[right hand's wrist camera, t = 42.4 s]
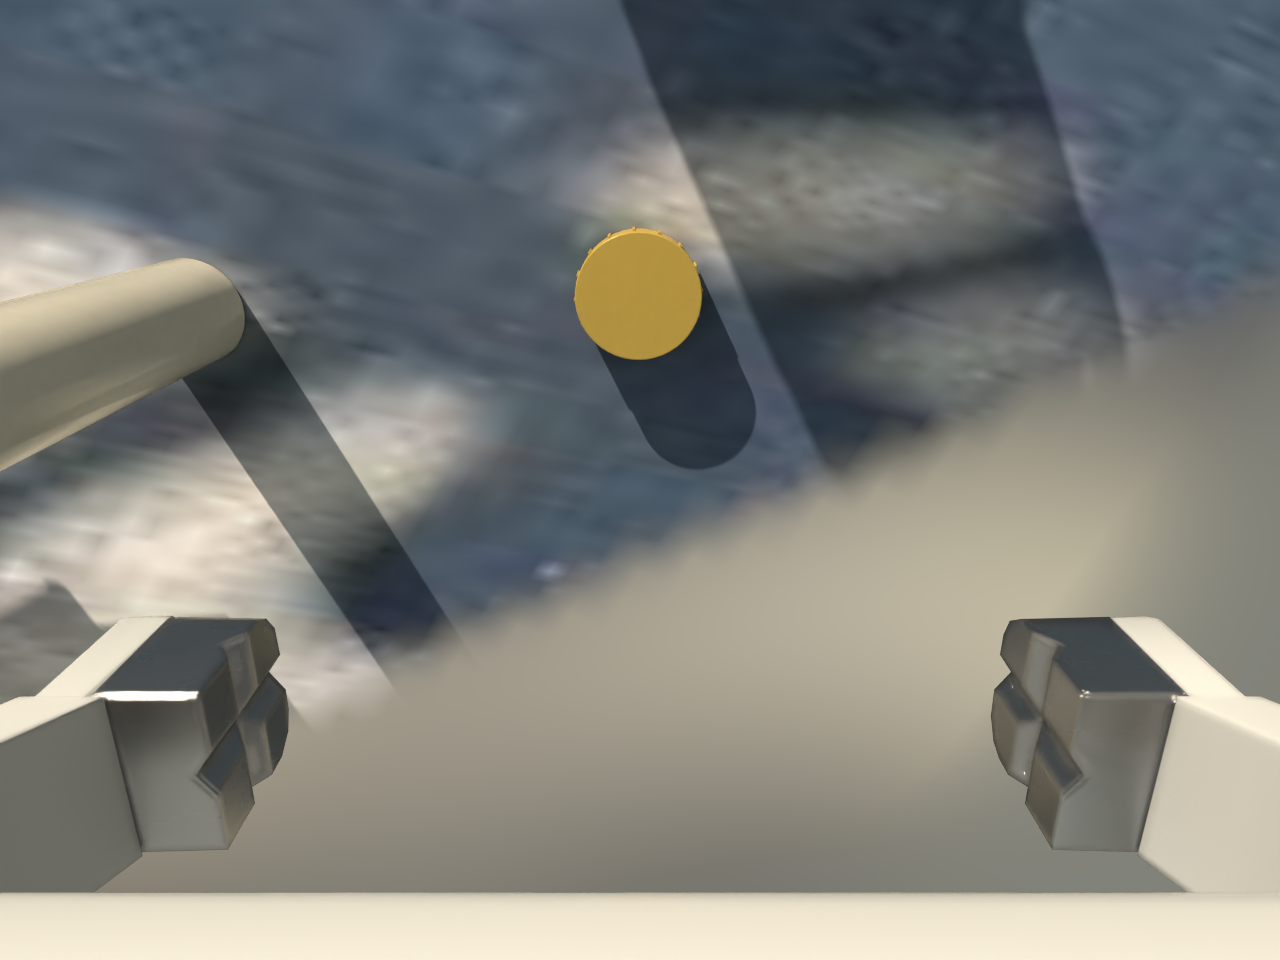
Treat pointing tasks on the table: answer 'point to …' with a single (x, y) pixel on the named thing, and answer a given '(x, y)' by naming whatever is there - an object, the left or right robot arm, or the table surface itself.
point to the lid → (638, 294)
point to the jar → (107, 347)
